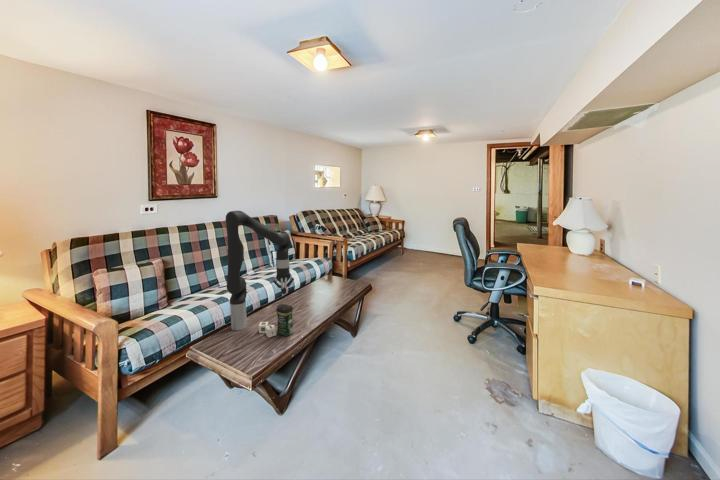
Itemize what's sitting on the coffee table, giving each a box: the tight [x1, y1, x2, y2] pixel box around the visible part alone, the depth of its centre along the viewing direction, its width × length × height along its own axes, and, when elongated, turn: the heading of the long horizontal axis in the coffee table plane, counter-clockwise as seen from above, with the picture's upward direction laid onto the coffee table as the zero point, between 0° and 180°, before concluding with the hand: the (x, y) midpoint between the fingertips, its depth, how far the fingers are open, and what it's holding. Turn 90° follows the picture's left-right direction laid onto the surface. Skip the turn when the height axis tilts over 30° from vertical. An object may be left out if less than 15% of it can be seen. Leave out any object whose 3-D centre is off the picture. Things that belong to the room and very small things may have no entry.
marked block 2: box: [265, 324, 277, 338], centre depth 178 cm, size 5×6×5 cm
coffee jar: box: [276, 303, 294, 337], centre depth 179 cm, size 10×8×19 cm
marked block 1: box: [258, 321, 269, 334], centre depth 183 cm, size 5×5×5 cm
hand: (283, 293), depth 176 cm, fingers closed
